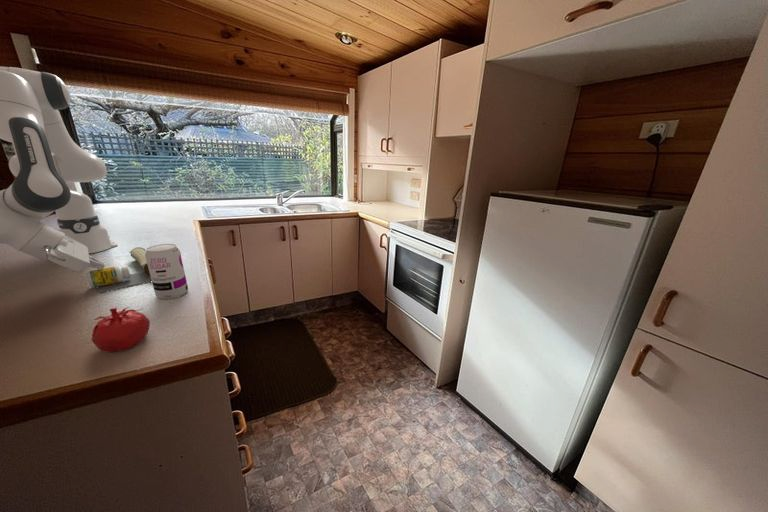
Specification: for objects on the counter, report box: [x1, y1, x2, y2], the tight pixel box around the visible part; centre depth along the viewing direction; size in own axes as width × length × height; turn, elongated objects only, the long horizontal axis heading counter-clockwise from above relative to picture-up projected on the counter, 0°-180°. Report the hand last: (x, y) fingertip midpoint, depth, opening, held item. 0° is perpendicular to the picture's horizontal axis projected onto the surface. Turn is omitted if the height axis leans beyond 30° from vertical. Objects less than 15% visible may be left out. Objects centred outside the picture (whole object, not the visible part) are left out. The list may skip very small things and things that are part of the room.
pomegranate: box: [91, 307, 151, 353], centre depth 66 cm, size 10×10×9 cm
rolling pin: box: [128, 247, 150, 276], centre depth 107 cm, size 32×6×5 cm, turn 46°
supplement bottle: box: [86, 266, 131, 289], centre depth 94 cm, size 5×5×10 cm
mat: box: [97, 271, 152, 294], centre depth 98 cm, size 11×18×1 cm, turn 135°
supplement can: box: [145, 243, 189, 300], centre depth 87 cm, size 8×8×15 cm
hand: (103, 267), depth 92 cm, fingers closed
